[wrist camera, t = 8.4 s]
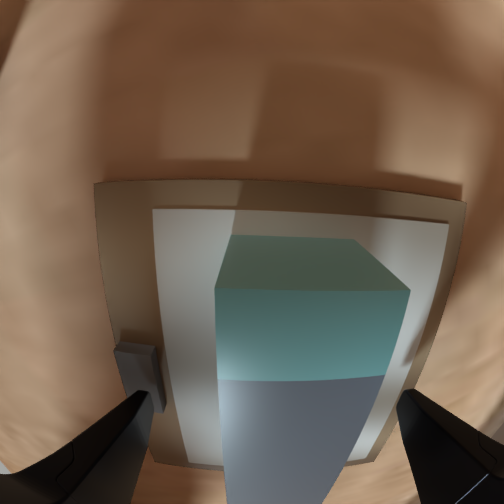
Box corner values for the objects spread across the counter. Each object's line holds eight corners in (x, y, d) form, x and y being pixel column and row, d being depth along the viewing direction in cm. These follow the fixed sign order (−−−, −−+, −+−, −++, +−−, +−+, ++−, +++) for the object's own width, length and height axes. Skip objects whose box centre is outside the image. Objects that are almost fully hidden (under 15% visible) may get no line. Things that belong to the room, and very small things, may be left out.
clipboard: (371, 455, 12) (376, 469, 11) (156, 455, 12) (152, 470, 11) (458, 200, 8) (477, 205, 7) (101, 182, 8) (83, 185, 7)
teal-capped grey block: (304, 459, 11) (312, 517, 8) (232, 459, 11) (229, 519, 8) (353, 239, 8) (410, 290, 5) (230, 234, 8) (214, 287, 5)
